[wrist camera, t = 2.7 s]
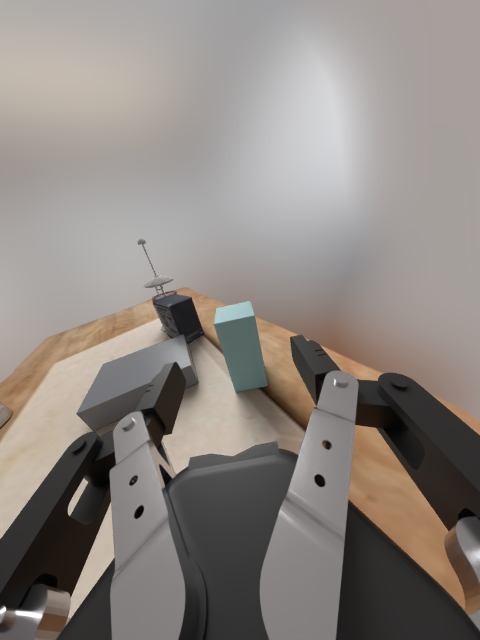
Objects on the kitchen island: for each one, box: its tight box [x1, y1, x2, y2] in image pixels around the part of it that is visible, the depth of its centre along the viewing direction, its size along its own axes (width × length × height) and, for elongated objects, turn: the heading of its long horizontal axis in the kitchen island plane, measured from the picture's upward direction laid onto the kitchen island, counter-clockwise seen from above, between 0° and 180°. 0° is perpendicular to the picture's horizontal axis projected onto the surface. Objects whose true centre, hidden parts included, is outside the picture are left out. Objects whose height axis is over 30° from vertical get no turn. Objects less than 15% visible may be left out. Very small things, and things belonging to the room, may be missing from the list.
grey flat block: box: [77, 334, 199, 431], centre depth 31 cm, size 16×12×4 cm
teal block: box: [214, 301, 268, 392], centre depth 25 cm, size 5×5×12 cm
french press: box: [138, 239, 177, 332], centre depth 50 cm, size 10×12×25 cm
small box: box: [153, 294, 204, 343], centre depth 44 cm, size 11×6×10 cm, turn 45°
